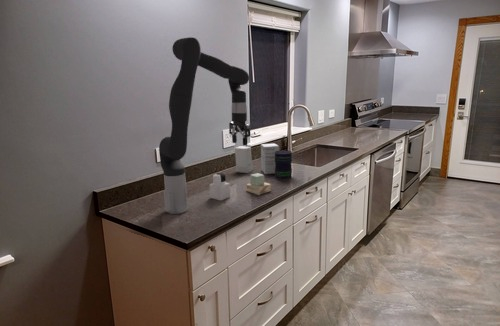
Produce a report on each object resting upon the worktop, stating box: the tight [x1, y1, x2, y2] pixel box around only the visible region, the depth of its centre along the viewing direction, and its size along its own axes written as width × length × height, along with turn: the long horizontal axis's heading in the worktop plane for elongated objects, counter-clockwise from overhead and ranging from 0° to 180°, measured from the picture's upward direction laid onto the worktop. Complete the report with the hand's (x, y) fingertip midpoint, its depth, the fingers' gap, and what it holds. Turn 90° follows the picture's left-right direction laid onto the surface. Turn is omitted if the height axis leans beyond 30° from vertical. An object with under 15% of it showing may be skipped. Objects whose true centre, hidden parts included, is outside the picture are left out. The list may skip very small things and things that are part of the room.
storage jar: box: [274, 149, 293, 181], centre depth 203 cm, size 10×10×15 cm
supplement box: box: [260, 143, 280, 175], centre depth 215 cm, size 10×9×17 cm
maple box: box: [245, 181, 272, 196], centre depth 182 cm, size 9×9×4 cm
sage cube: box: [250, 173, 265, 186], centre depth 181 cm, size 5×5×5 cm
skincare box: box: [234, 145, 253, 174], centre depth 217 cm, size 8×7×16 cm
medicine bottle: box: [209, 172, 231, 202], centre depth 173 cm, size 7×7×12 cm
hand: (239, 143), depth 178 cm, fingers open, 8 cm apart
